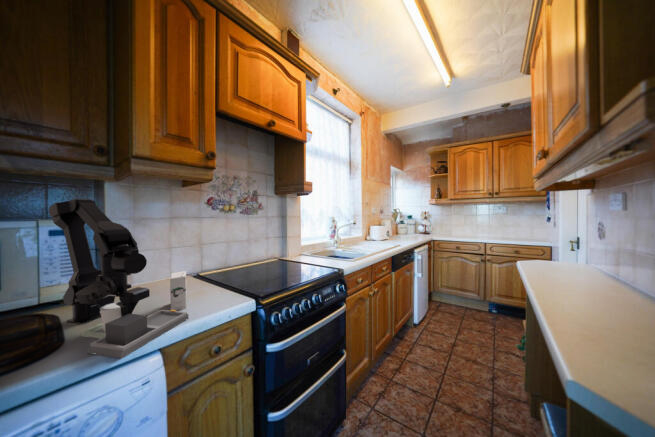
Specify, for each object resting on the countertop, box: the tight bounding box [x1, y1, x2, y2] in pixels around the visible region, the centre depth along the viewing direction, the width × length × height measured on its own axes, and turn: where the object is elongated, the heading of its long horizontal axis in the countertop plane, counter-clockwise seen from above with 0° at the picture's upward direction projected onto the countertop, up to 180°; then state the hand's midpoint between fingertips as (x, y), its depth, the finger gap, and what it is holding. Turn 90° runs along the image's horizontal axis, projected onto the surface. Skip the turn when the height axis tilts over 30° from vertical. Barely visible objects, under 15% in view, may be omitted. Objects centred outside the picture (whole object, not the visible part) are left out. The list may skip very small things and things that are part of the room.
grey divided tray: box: [87, 309, 189, 359], centre depth 68 cm, size 10×21×6 cm, turn 169°
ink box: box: [169, 270, 188, 311], centre depth 87 cm, size 9×5×12 cm, turn 31°
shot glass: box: [100, 300, 122, 333], centre depth 71 cm, size 7×7×7 cm
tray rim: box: [79, 323, 106, 339], centre depth 71 cm, size 11×11×1 cm
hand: (116, 321), depth 71 cm, fingers closed on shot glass, 6 cm apart
